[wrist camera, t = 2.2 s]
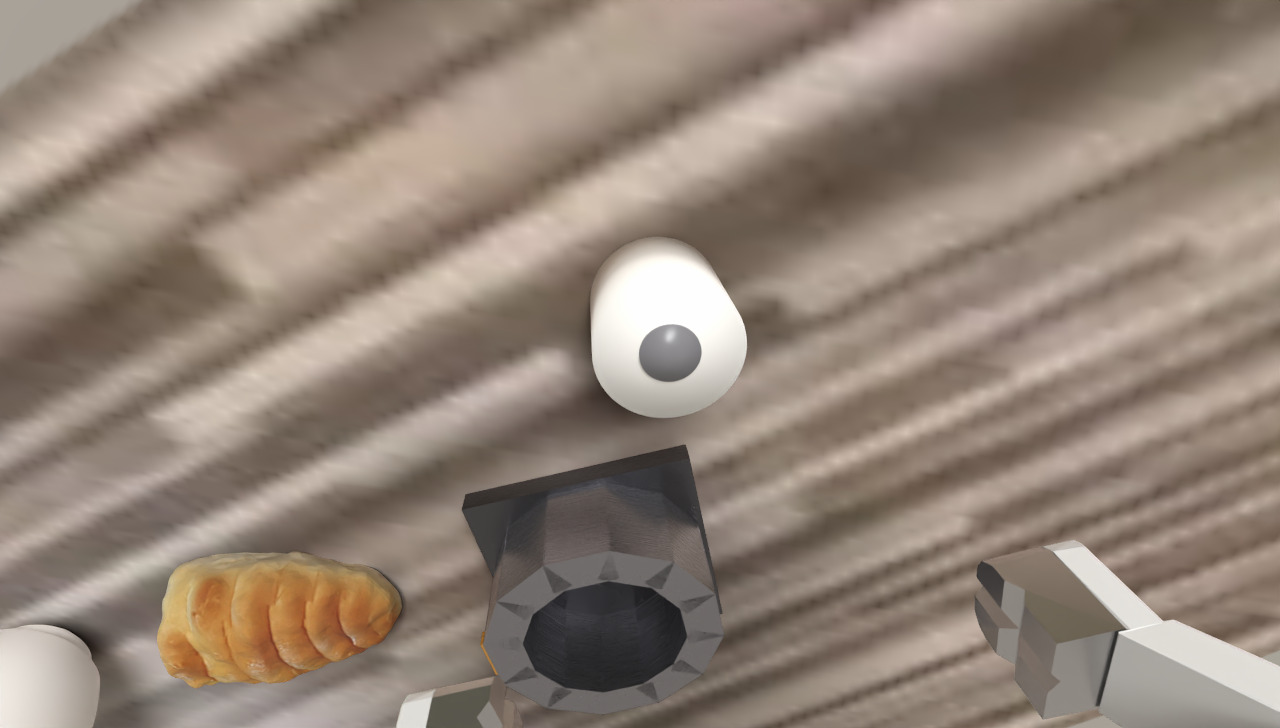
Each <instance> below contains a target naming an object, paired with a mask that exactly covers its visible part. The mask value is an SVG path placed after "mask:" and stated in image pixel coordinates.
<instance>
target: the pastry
mask: <svg viewBox="0 0 1280 728" xmlns="http://www.w3.org/2000/svg"><path fill="white" fill-rule="evenodd" d="M401 609H402V604H401V598H400V595H399V593H398V591H397V590H396V589H395V587H394V586H393V585H392V584H391V583H390V582H389V581H388V580H387V579H386V578H385V577H384V576H383V575H382V574H381V573H380V572H378V571H377V570H375V569H373V568H370V567H367V566H365V565H361V564H344V563H340V562H337V561H334V560H331V559H326V558H321V557H317V556H315V555H312V554H309V553H305V552H300V551H293V552H291V553H288V554H282V553H245V552H244V553H231V554H218V555H213V556H208V557H201V558H197V559H195V560H193V561H189V562H186V563H183V564H181V565H180V566H178V567H177V568H176V569H175V571H174V572H173V574H172V575H171V576H170V579H169V582H168V587H167V591H166V596H165V597H164V599H163V604H162V612H163V617H162V622H161V625H160V627H159V630H158V637H157V643H158V648H159V651H160V656H161V659H162V661H163V663H164V665H165V667H166V669H167V671H168V673H169V674H170V675H171V676H173V677H175V678H180V679H183V680H184V681H185V682H186V683H187V684H188V685H189V686H191V687H193V688H199V687H201V686H203V685H205V684H206V685H214V684H216V683H218V682H225V683H230V682H247V683H253V684H256V683H260V682H266V683H280V682H286V681H289V680H291V679H293V678H295V677H296V676H298V675H301V674H303V673H306V672H309V671H311V670H316V669H318V668H322V667H323V666H325V665H327V664H328V663H330V662H338V661H341V660H344V659H346V658H348V657H350V656H352V655H355V654H358V653H361V652H363V651H365V650H366V649H367V648H369V647H370V646H372V645H375V644H379V643H380V642H382V641H383V640H384V638H385V637H386V635H387V634H388V633H389V631H390V630H391V628H392V627H393V625H394V623H395V621H396V620H397V617H398V616H399V614H400V612H401Z"/></svg>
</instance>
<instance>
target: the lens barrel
mask: <svg viewBox="0 0 1280 728" xmlns="http://www.w3.org/2000/svg"><path fill="white" fill-rule="evenodd" d="M462 511H463V514H464V516H465V518H466V520H467V522H468V524H469V526H470V529H471V531H472V533H473V535H474V537H475V539H476V542H477V544H478V546H479V548H480V550H481V552H482V554H483V557H484V559H485V561H486V563H487V565H488V567H489V569H490V572H491V574H492V576H493V584H492V591H491V597H490V603H489V610H488V616H487V622H486V629H485V632H482V638H481V644H480V645H481V647H482V649H483V651H484V653H485V655H486V657H487V658H488V660H489V662H490V664H491V666H492V668H493V670H494V672H495V674H496V675H500V677H501V679H502V680H503V682H504V684H505V685H506V686H507V687H509V688H511V689H513V690H515V691H516V692H518V693H520V694H522V695H524V696H525V697H527V698H529V699H531V700H533V701H534V702H536V703H538V704H540V705H542V706H544V707H545V708H547V709H556V710H566V711H575V712H584V713H593V714H602V715H604V714H608V713H613V712H617V711H622V710H627V709H631V708H636V707H640V706H645V705H649V704H654V703H659V702H660V701H662V700H663V699H665V698H666V697H668V696H670V695H671V694H673V693H674V692H676V691H677V690H679V689H681V688H682V687H684V686H685V685H687V684H688V683H690V682H691V681H693V680H695V679H696V678H698V677H699V676H701V675H703V673H704V671H705V669H706V667H707V666H708V664H709V662H710V660H711V658H712V657H713V655H714V653H715V651H716V649H717V648H718V646H719V644H720V642H721V640H722V639H723V637H724V631H723V627H722V623H721V618H720V614H722V609H721V604H720V600H719V595H718V590H717V586H716V581H715V576H714V572H713V567H712V562H711V557H710V553H709V548H708V543H707V539H706V534H705V529H704V524H703V520H702V515H701V510H700V506H699V501H698V496H697V492H696V487H695V482H694V477H693V473H692V468H691V463H690V459H689V455H688V451H687V447H686V445H682V446H678V447H673V448H669V449H665V450H660V451H656V452H651V453H647V454H642V455H638V456H634V457H629V458H625V459H620V460H616V461H612V462H607V463H603V464H598V465H594V466H590V467H585V468H581V469H576V470H572V471H567V472H563V473H559V474H554V475H550V476H545V477H541V478H537V479H532V480H528V481H523V482H519V483H515V484H510V485H506V486H501V487H497V488H493V489H488V490H484V491H479V492H475V493H470V494H466V495H465V499H464V503H463V507H462Z"/></svg>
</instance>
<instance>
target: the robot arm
mask: <svg viewBox="0 0 1280 728" xmlns="http://www.w3.org/2000/svg"><path fill="white" fill-rule="evenodd" d="M977 578H978V580H979V581H980V582H981V584H982V585H983V587H982V588H981V589H980V590H979V592H978V593H977V594H976V595H975V612H976V616H977V619H978V622H979V626H980V628H981V630H982V632H983V634H984V636H985V638H986V640H987V641H988V643H989V644H990V645H991V647H992V648H993V650H994V651H995V653H996V654H997V655H999V656H1001V657H1003V658H1004V659H1006V660H1008V661H1010V662H1012V663H1013V664H1015V672H1014V680H1015V681H1016V683H1017V684H1018V685H1019V687H1020V688H1021V690H1022V691H1023V692H1024V694H1025V695H1026V697H1027V698H1028V699H1029V701H1030V702H1031V704H1032V705H1033V706H1034V708H1035V709H1036V711H1037V712H1038V713H1039V715H1040V716H1041V718H1042V719H1048V718H1053V717H1058V716H1063V715H1068V714H1073V713H1078V712H1083V711H1088V710H1093V709H1098V708H1099V711H1098V712H1100V713H1101V714H1103V715H1104V716H1106V717H1107V718H1109V719H1110V720H1112V721H1113V722H1115V723H1116V724H1118V725H1119V726H1121V727H1122V728H1280V666H1278V665H1276V664H1273V663H1271V662H1269V661H1266V660H1264V659H1262V658H1260V657H1257V656H1255V655H1253V654H1251V653H1248V652H1246V651H1244V650H1242V649H1239V648H1237V647H1235V646H1232V645H1230V644H1228V643H1226V642H1223V641H1221V640H1219V639H1217V638H1214V637H1212V636H1210V635H1207V634H1205V633H1203V632H1201V631H1198V630H1196V629H1194V628H1192V627H1189V626H1187V625H1185V624H1182V623H1180V622H1178V621H1176V620H1167V621H1163V620H1162V619H1160V618H1159V617H1158V616H1157V615H1156V614H1155V613H1154V612H1153V611H1152V610H1151V609H1150V608H1149V607H1148V606H1147V605H1146V604H1145V603H1144V602H1143V601H1142V600H1140V599H1139V598H1138V597H1137V596H1136V595H1135V594H1134V593H1133V592H1132V591H1131V590H1130V589H1129V588H1128V587H1127V586H1126V585H1125V584H1124V583H1123V582H1122V581H1121V580H1119V579H1118V578H1117V577H1116V576H1115V575H1114V574H1113V573H1112V572H1111V571H1110V570H1109V569H1108V568H1107V567H1106V566H1105V565H1104V564H1103V563H1102V562H1101V561H1099V560H1098V559H1097V558H1096V557H1095V556H1094V555H1093V554H1092V553H1091V552H1090V551H1089V550H1088V549H1087V548H1086V547H1085V546H1084V545H1083V544H1081V543H1079V542H1077V541H1075V540H1069V541H1064V542H1060V543H1056V544H1052V545H1048V546H1044V547H1041V548H1040V547H1036V548H1032V549H1028V550H1024V551H1020V552H1016V553H1012V554H1008V555H1004V556H1000V557H996V558H992V559H988V560H984V561H982V562H981V563H980V564H979V565H978V568H977ZM505 696H506V685H505V684H504V682H503V680H502V679H501V677H500V675H497V676H493V677H488V678H483V679H478V680H474V681H469V682H464V683H459V684H455V685H450V686H445V687H440V688H435V689H431V690H426V691H422V692H418V693H413V694H409V695H408V696H407V697H406V699H405V701H404V702H403V704H402V706H401V709H400V713H399V716H398V720H397V724H396V728H523V724H522V721H521V717H520V713H519V711H518V709H517V707H516V705H515V703H513V702H511V701H509V700H507V699H505Z"/></svg>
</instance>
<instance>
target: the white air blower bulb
mask: <svg viewBox="0 0 1280 728" xmlns="http://www.w3.org/2000/svg"><path fill="white" fill-rule="evenodd" d="M99 692H100V675H99V672H98V669H97V667H96V666H95V664H94V662H93V661H92V659H91V653H90V650H89V648H88V647H87V645H86V644H85V643H84V642H83V641H82V640H81V639H80V638H78V637H77V636H76V635H74V634H73V633H71V632H70V631H68V630H66V629H63V628H59V627H55V626H49V625H37V624H35V625H25V626H20V627H17V628H9V629H0V728H92V727H93V724H94V721H95V717H96V713H97V708H98V702H99Z"/></svg>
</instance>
